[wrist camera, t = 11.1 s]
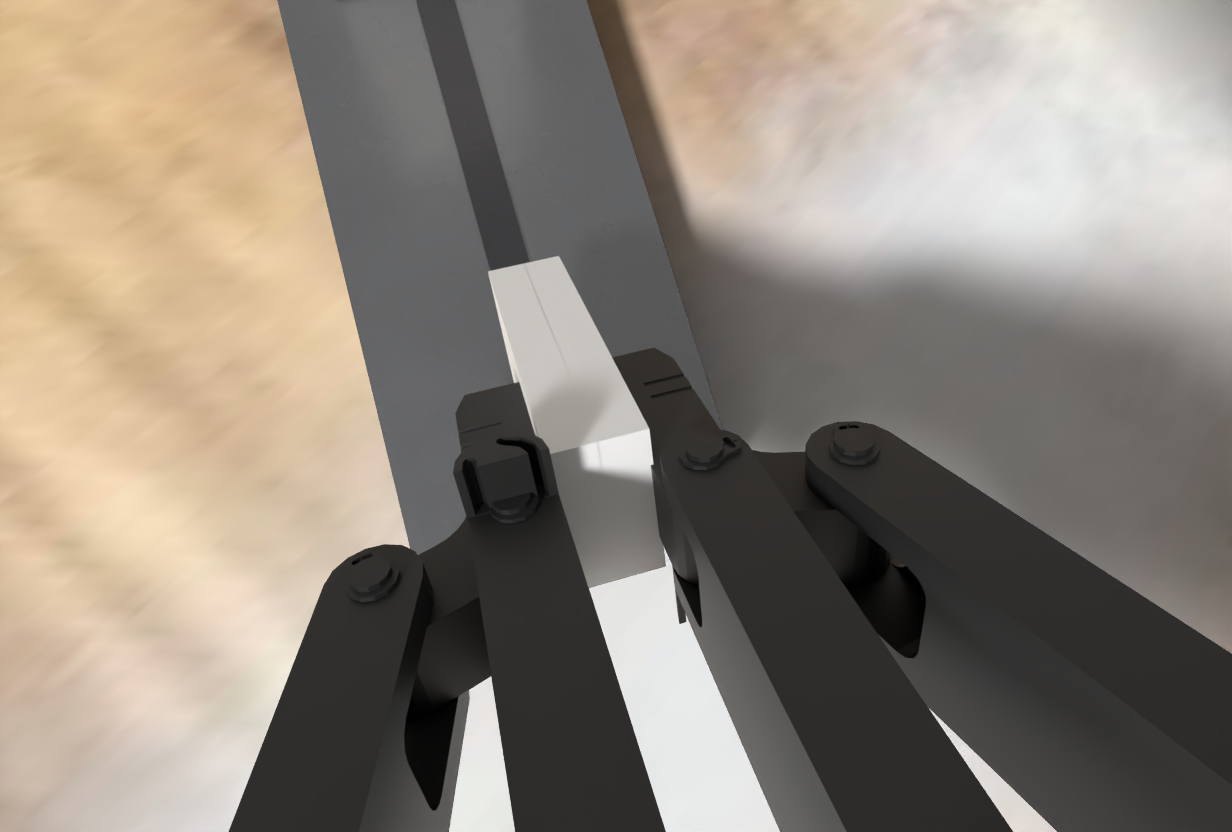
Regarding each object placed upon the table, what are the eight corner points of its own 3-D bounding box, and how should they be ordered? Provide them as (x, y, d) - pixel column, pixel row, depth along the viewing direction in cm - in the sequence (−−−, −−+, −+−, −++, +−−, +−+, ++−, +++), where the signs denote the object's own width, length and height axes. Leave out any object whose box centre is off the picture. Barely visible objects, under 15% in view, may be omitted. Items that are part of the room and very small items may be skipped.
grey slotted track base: (718, 479, 21) (737, 469, 19) (427, 563, 20) (412, 562, 18) (510, -185, 25) (507, -254, 23) (253, -145, 24) (224, -214, 21)
